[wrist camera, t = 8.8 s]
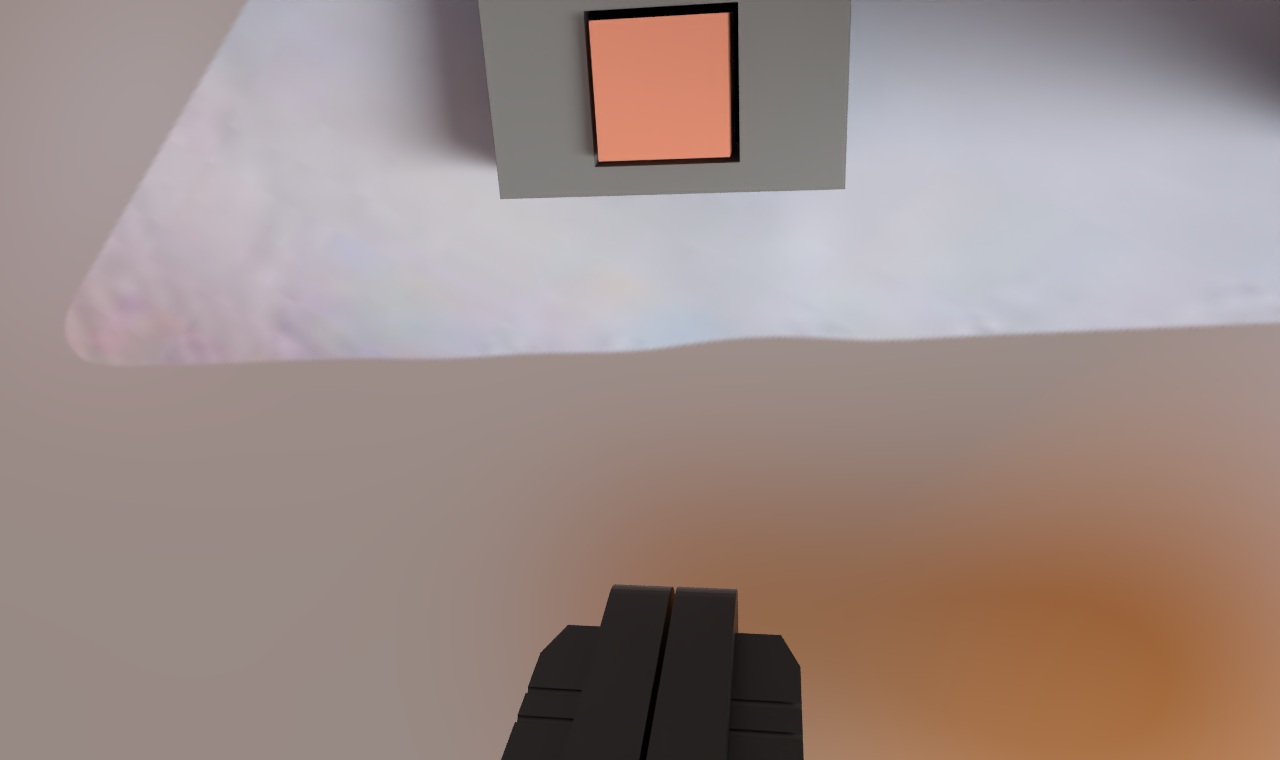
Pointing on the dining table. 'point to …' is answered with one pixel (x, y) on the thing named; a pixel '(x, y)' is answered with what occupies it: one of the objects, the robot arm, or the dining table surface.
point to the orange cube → (664, 86)
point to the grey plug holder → (762, 161)
